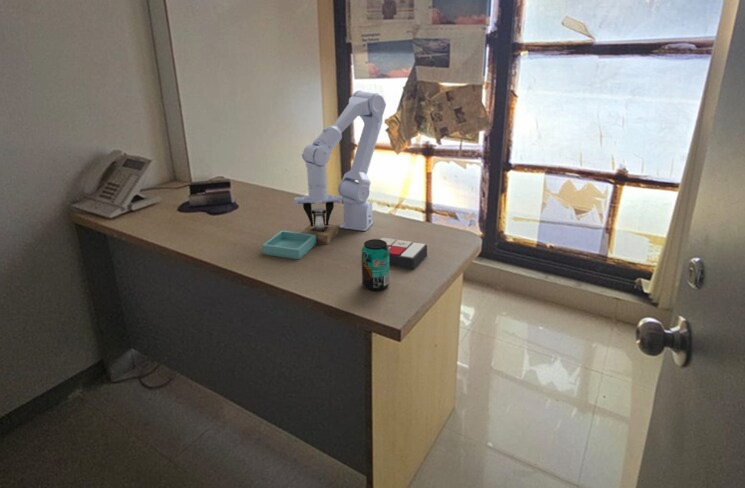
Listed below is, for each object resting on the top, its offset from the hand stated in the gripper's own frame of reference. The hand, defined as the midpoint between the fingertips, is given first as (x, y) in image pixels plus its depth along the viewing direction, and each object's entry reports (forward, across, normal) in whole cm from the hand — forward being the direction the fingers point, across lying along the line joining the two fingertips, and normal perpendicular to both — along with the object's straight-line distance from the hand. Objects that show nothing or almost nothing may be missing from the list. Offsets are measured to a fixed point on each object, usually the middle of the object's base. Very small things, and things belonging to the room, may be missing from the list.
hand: (319, 224), depth 155 cm
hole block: (+4, 0, 0) cm, 4 cm away
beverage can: (+4, +14, -34) cm, 37 cm away
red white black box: (+5, +22, -18) cm, 29 cm away
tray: (+4, -9, -8) cm, 13 cm away
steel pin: (+4, 0, 0) cm, 4 cm away
